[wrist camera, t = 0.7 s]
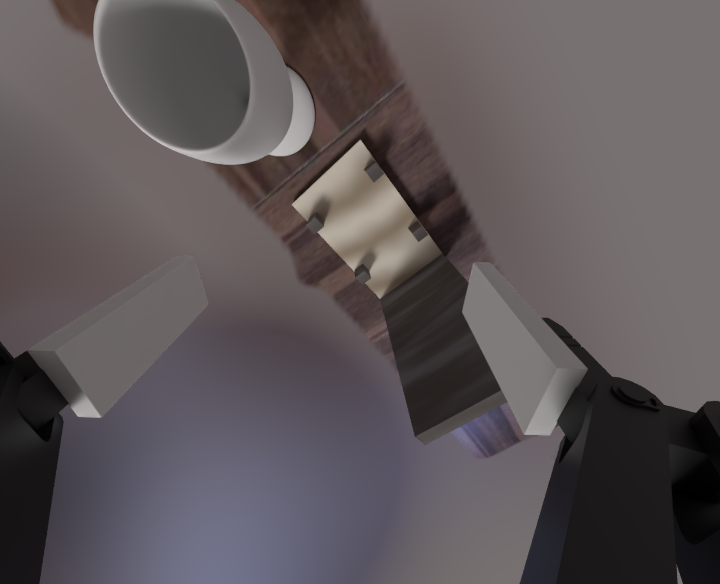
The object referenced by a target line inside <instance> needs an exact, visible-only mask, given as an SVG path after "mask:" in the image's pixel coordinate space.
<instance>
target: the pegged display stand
mask: <svg viewBox="0 0 720 584" xmlns="http://www.w3.org/2000/svg"><path fill="white" fill-rule="evenodd" d="M292 205H293V207H294V208H295V209H296V210H297V211H298V212H299V213H300V214H301V215H302V216H303V217H304V218H305V219H306V220H307V224H306V226H307V227H308V228H309V229H310V230H311V231H312V232H313V233H314V234H316V233H317V232H318V233H319V234H320V235H321V236H322V237H323V239H324V240H325V241H326V242H327V243H328V244H329V245H330V246H331V247H332V248H333V249H334V250H335V251H336V252H337V253H338V255H339V256H340V257H341V258H342V259H343V260H344V261H345V262H346V263H347V264H348V265H349V266H350V267H351V268H352V269H353V271H354V272H355V278H356V279H357V280H358V281H359V282H360V283H361V284H362V285H363V284H364V283H366V284H367V285H368V287H369V288H370V289H371V290H372V291H373V292H374V293H375V294H376V295H377V296H378V297H379V298H380V300H381V304H382V308H383V312H384V316H385V320H386V324H387V328H388V332H389V336H390V340H391V344H392V348H393V352H394V356H395V360H396V364H397V368H398V372H399V376H400V379H401V383H402V387H403V391H404V395H405V399H406V403H407V407H408V411H409V415H410V419H411V423H412V427H413V431H414V435H415V437H416V438H417V439H418V440H420V441H421V442H422V443H423V444H425V445H426V444H428V443H429V442H431V441H433V440H435V439H437V438H439V437H441V436H443V435H445V434H447V433H449V432H451V431H452V430H454V429H456V428H458V427H460V426H462V425H464V424H466V423H468V422H470V421H472V420H474V419H475V418H477V417H479V416H481V415H483V414H485V413H487V412H489V411H491V410H493V409H495V408H496V407H498V406H500V405H502V404H504V403H506V402H507V400H506V398H505V396H504V394H503V392H502V390H501V388H500V386H499V384H498V382H497V380H496V378H495V376H494V374H493V372H492V370H491V368H490V366H489V364H488V362H487V360H486V358H485V356H484V354H483V352H482V350H481V348H480V346H479V344H478V343H477V341H476V339H475V337H474V335H473V333H472V331H471V329H470V327H469V325H468V323H467V321H466V319H465V317H464V315H463V313H462V310H463V305H464V301H465V297H466V292H467V288H468V284H469V283H468V282H467V280H466V279H465V278H464V277H463V276H462V275H461V274H460V273H459V271H458V270H457V269H456V268H455V267H454V266H453V265H452V264H451V263H450V261H449V260H448V259H447V258H446V257H445V256H444V255H443V254H442V252H441V251H440V250H439V248H438V247H437V245H436V244H435V243H434V241H433V240H432V238H431V237H430V236H429V234H428V233H427V231H426V230H425V229H424V227H423V226H422V225H421V223H420V222H419V220H418V219H417V218H416V216H415V215H414V213H413V212H412V211H411V209H410V208H409V207H408V205H407V204H406V202H405V201H404V200H403V198H402V197H401V195H400V194H399V193H398V191H397V190H396V188H395V187H394V186H393V184H392V183H391V182H390V180H389V179H388V177H387V176H386V175H385V173H384V172H383V170H382V169H381V168H380V166H379V165H378V163H377V162H376V161H375V159H374V158H373V157H372V155H371V154H370V152H369V151H368V150H367V148H366V147H365V145H364V144H363V143H362V141H361V140H359V141H358V142H357V143H356V144H355V145H354V146H353V147H352V148H351V149H350V150H349V151H347V152H346V153H345V154H344V155H343V156H342V157H341V158H340V159H339V160H338V161H337V162H336V163H335V164H334V165H333V166H332V167H330V168H329V169H328V170H327V171H326V172H325V173H324V174H323V175H322V176H321V177H320V178H319V179H318V180H317V181H316V182H315V183H314V184H312V185H311V186H310V187H309V188H308V189H307V190H306V191H305V192H304V193H303V194H302V195H301V196H300V197H299V198H298V199H297V200H296V201H294V202H293V204H292Z"/></svg>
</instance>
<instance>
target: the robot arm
mask: <svg viewBox="0 0 720 584" xmlns="http://www.w3.org/2000/svg"><path fill="white" fill-rule="evenodd" d="M208 305H209V303H208V300H207V297H206V294H205V291H204V287H203V284H202V281H201V278H200V275H199V271H198V268H197V265H196V262H195V258H194V256H193V255H177V256H175V257H174V258H172V259H171V260H169V261H167V262H166V263H164V264H163V265H161V266H160V267H158V268H156V269H155V270H153V271H152V272H150V273H148V274H147V275H145V276H144V277H142V278H140V279H139V280H138V281H136V282H134V283H133V284H131V285H130V286H128V287H126V288H125V289H123V290H121V291H120V292H118V293H117V294H115V295H114V296H112V297H110V298H109V299H107V300H106V301H104V302H103V303H101V304H99V305H98V306H96V307H95V308H93V309H91V310H90V311H88V312H87V313H85V314H84V315H82V316H80V317H79V318H77V319H75V320H74V321H72V322H71V323H69V324H68V325H66V326H65V327H63V328H61V329H60V330H58V331H57V332H55V333H53V334H52V335H50V336H48V337H47V338H45V339H44V340H42V341H41V342H39V343H37V344H36V345H34V346H33V347H31V348H30V349H28V350H27V351H26V352H24V353H22V354H21V355H19V356H18V357H16V358H13V357H12V355H11V354H10V353H9V352H8V351H7V349H6V348H5V347H4V346H3V344H2V343H1V342H0V584H39V582H40V576H41V569H42V563H43V556H44V549H45V543H46V536H47V529H48V522H49V516H50V509H51V503H52V496H53V488H54V483H55V476H56V469H57V462H58V456H59V449H60V443H61V436H62V429H63V423H64V422H63V419H62V416H61V415H60V414H59V412H60V411H61V410H62V409H63V408H64V407H65V406H66V405H68V404H69V406H70V407H71V408H72V409H73V411H74V412H75V413H76V415H77V416H78V417H98V418H102V417H103V416H104V415H105V414H106V413H107V412H108V410H109V409H110V408H111V407H112V406H113V405H114V404H115V403H116V402H117V401H118V400H119V399H120V398H121V397H122V396H123V394H125V393H126V391H127V390H128V389H129V388H130V387H131V386H132V385H133V384H134V383H135V382H136V381H137V380H138V379H139V377H141V376H142V375H143V373H144V372H145V371H146V370H147V369H148V368H149V367H150V366H151V365H152V364H153V363H154V362H155V361H156V360H157V359H158V358H159V356H161V354H162V353H163V352H164V351H165V350H166V349H167V348H168V347H169V346H170V345H171V344H172V343H173V342H174V341H175V340H176V339H177V338H178V337H179V335H180V334H181V333H182V332H183V331H184V330H185V329H186V328H187V327H188V326H189V325H190V324H191V323H192V322H193V321H194V320H195V319H196V318H197V317H198V315H199V314H200V313H201V312H202V311H203V310H204V309H205V308H206V307H207V306H208ZM462 313H463V315H464V317H465V319H466V321H467V323H468V325H469V327H470V329H471V331H472V333H473V335H474V337H475V339H476V341H477V343H478V344H479V346H480V348H481V350H482V352H483V354H484V356H485V358H486V360H487V362H488V364H489V366H490V368H491V370H492V372H493V374H494V376H495V378H496V380H497V382H498V384H499V386H500V388H501V390H502V392H503V394H504V396H505V398H506V400H507V402H508V404H509V406H510V408H511V410H512V412H513V414H514V416H515V418H516V420H517V422H518V424H519V426H520V428H521V430H522V431H523V433H524V434H525V435H550V434H551V432H552V431H553V429H554V427H555V426H556V424H557V423H558V424H559V426H560V427H561V429H562V430H563V432H564V433H565V436H564V438H563V439H562V441H561V442H560V444H559V446H558V447H557V449H556V450H555V452H554V454H553V455H552V457H553V458H554V459H556V460H555V464H554V467H553V471H552V474H551V478H550V481H549V484H548V488H547V492H546V495H545V498H544V502H543V505H542V509H541V512H540V515H539V519H538V522H537V526H536V529H535V533H534V537H533V540H532V543H531V547H530V550H529V554H528V557H527V560H526V564H525V567H524V571H523V574H522V578H521V581H520V584H678V583H677V567H678V570H679V573H680V576H681V579H682V582H683V584H720V402H719V401H708V402H706V403H705V404H704V405H703V406H702V407H701V408H700V409H699V410H698V411H697V413H694V412H690V411H686V410H682V409H678V408H674V407H670V406H666V405H664V404H663V403H662V402H661V401H660V400H659V399H658V398H657V397H656V396H655V395H654V394H652V393H651V392H650V391H648V390H647V389H645V388H644V387H642V386H640V385H638V384H635V383H634V382H631V381H628V380H625V379H622V378H619V377H612V376H611V375H610V374H609V373H608V372H607V371H606V370H605V369H604V368H603V367H602V366H601V365H600V364H599V363H598V362H597V361H596V360H595V359H594V358H593V357H592V356H591V355H590V354H589V353H588V352H587V351H586V350H585V349H584V348H583V347H581V345H580V344H579V343H578V342H577V341H576V340H575V339H573V338H572V336H571V335H570V334H569V333H568V332H567V331H566V330H565V329H564V328H563V327H562V326H561V325H559V324H558V323H556V322H554V321H553V320H551V319H549V318H541V317H540V316H539V315H538V314H537V313H536V312H535V311H534V310H533V308H532V307H531V306H530V305H529V304H528V303H527V302H526V301H525V300H524V299H523V298H522V296H521V295H520V294H519V293H518V292H517V291H516V290H515V289H514V288H513V287H512V286H511V284H510V283H509V282H508V281H507V280H506V279H505V278H504V277H503V276H502V275H501V274H500V272H499V271H498V270H497V269H496V268H495V267H494V266H493V265H492V264H491V263H489V262H474V263H473V267H472V271H471V275H470V280H469V284H468V288H467V292H466V297H465V301H464V305H463V310H462ZM676 564H677V567H676Z"/></svg>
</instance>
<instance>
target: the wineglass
mask: <svg viewBox="0 0 720 584" xmlns="http://www.w3.org/2000/svg"><path fill="white" fill-rule="evenodd" d="M93 32H94V45H95V51H96V56H97V60H98V63H99V66H100V69H101V72H102V75H103V77H104V80H105V82H106V84H107V86H108V87H109V90H110V91H111V93H112V95H113V97H114V98H115V100H116V101H117V103H118V104H119V106H120V107H121V108H122V110H123V111H124V112H125V114H127V116H128V117H129V118H130V119H131V120H132V121H133V122H134V123H135V125H137V126H138V127H139V128H140V129H141V130H142V131H143V132H144V133H146V134H147V135H148V136H150V137H151V138H153V139H154V140H156V141H157V142H159V143H160V144H162V145H164V146H166V147H168V148H170V149H172V150H174V151H177V152H179V153H182V154H185V155H187V156H190V157H193V158H196V159H199V160H203V161H207V162H211V163H217V164H230V165H233V164H244V163H249V162H252V161H255V160H258V159H260V158H263V157H264V156H266V155H268V154H270V155H274V156H287V155H290V154H293V153H295V152H297V151H299V150H300V149H301V148H302V147H303V146H304V145H305V144H306V143H307V141H308V140H309V138H310V136H311V134H312V131H313V128H314V122H315V109H314V104H313V100H312V97H311V94H310V92H309V90H308V88H307V86H306V84H305V83H304V81H303V80H302V79H301V78H300V76H299V75H298V74H297V73H295V72H294V71H293V70H292V69H290V68H289V67H287V66H286V65H285V63H284V61H283V58H282V56H281V54H280V52H279V51H278V49H277V47H276V45H275V44H274V42H273V41H272V39H271V38H270V36H269V35H268V33H267V32H266V31H265V29H264V28H263V27H262V26H261V25H260V23H259V22H258V21H257V20H256V19H255V18H254V17H253V16H252V15H251V14H250V13H249V12H248V11H247V10H246V9H245V8H244V7H243V6H241V5H240V4H239V3H238V2H236V1H235V0H99V1H98V4H97V7H96V11H95V17H94V31H93Z"/></svg>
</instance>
